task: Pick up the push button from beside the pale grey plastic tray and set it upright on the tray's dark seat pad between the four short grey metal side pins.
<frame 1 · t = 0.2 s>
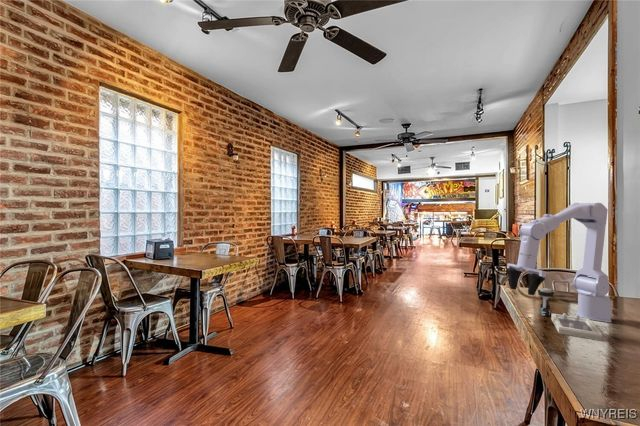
hand: (521, 291, 119), 11 cm above the table, tool pointing down, fingers open, 7 cm apart
push button: (544, 315, 126), on the table
pin tray: (574, 328, 112), on the table
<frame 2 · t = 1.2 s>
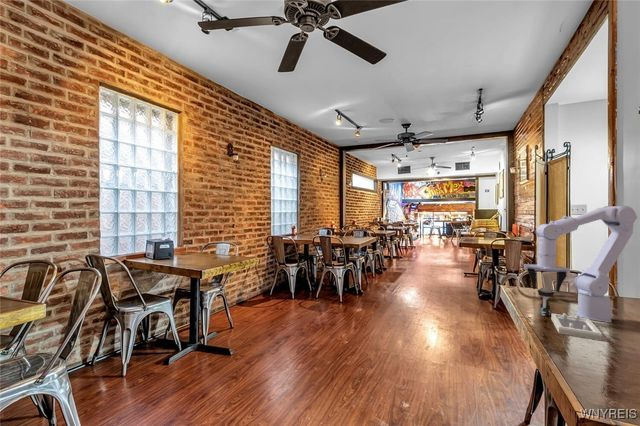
hand: (545, 289, 126), 10 cm above the table, tool pointing down, fingers open, 7 cm apart
nothing on the table moved.
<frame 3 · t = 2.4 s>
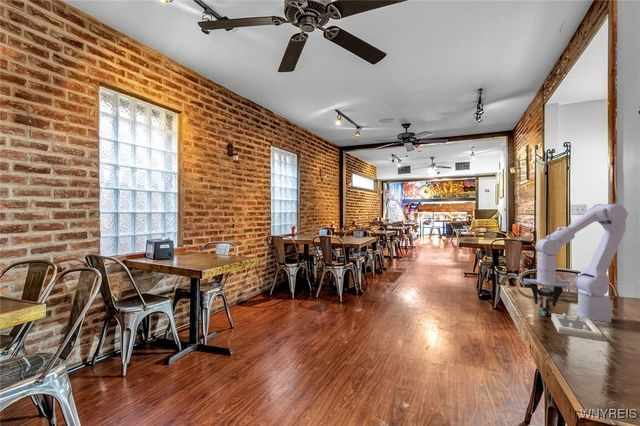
hand: (544, 304, 126), 4 cm above the table, tool pointing down, fingers closed on push button, 5 cm apart
push button: (544, 315, 126), on the table, touching gripper
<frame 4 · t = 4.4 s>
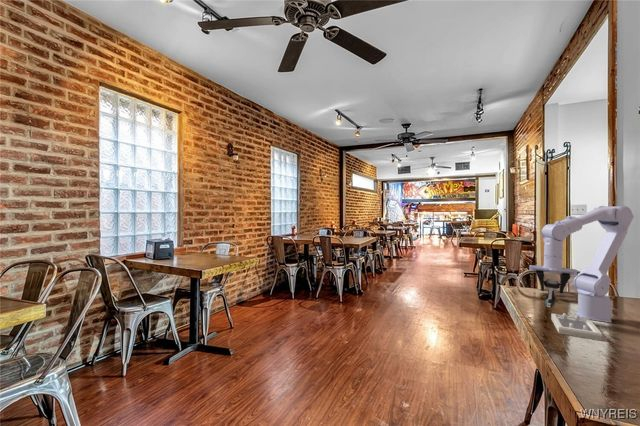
hand: (551, 291, 123), 10 cm above the table, tool pointing down, fingers closed on push button, 5 cm apart
push button: (549, 306, 124), point 4 cm above the table, touching gripper
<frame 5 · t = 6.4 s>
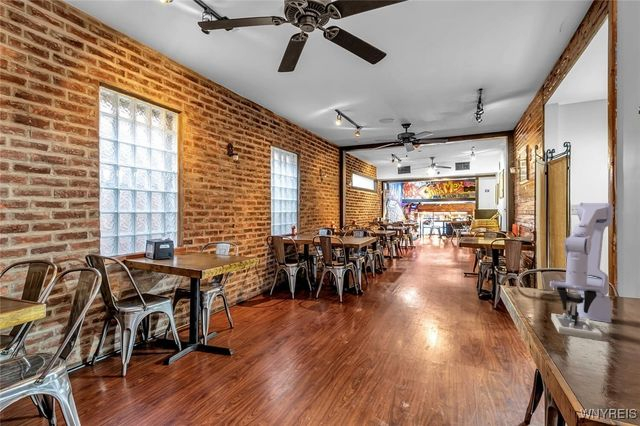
hand: (575, 310, 111), 6 cm above the table, tool pointing down, fingers closed on push button, 5 cm apart
push button: (572, 323, 113), point 2 cm above the table, touching gripper, pin tray
when the fingers open (6 cm above the table, at t = 7.3 s): push button stays where it is, resting on pin tray.
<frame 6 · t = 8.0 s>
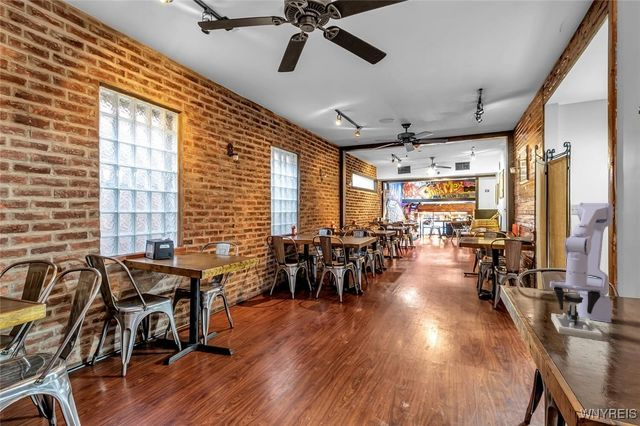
hand: (575, 311, 112), 6 cm above the table, tool pointing down, fingers open, 7 cm apart
push button: (572, 323, 113), point 2 cm above the table, touching pin tray
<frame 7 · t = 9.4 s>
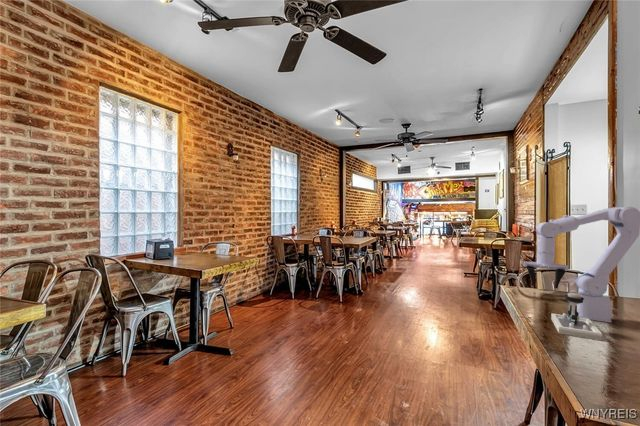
hand: (544, 286, 129), 10 cm above the table, tool pointing down, fingers open, 7 cm apart
nothing on the table moved.
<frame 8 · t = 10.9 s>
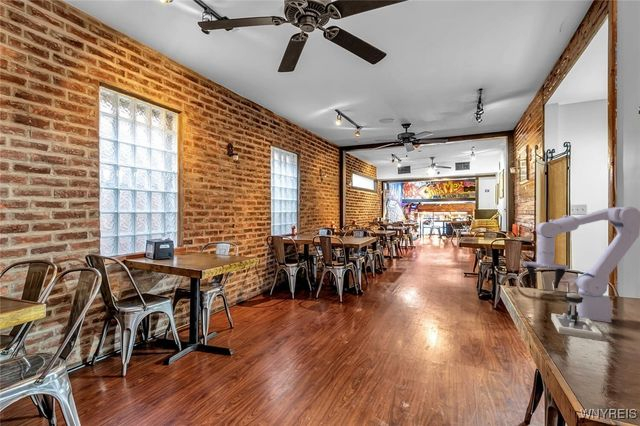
hand: (544, 286, 129), 10 cm above the table, tool pointing down, fingers open, 7 cm apart
nothing on the table moved.
at the end: push button 1.3 cm off-centre on the pin tray, point 1.5 cm above the pin tray's base; push button tilted 0°; the gripper is holding nothing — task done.
